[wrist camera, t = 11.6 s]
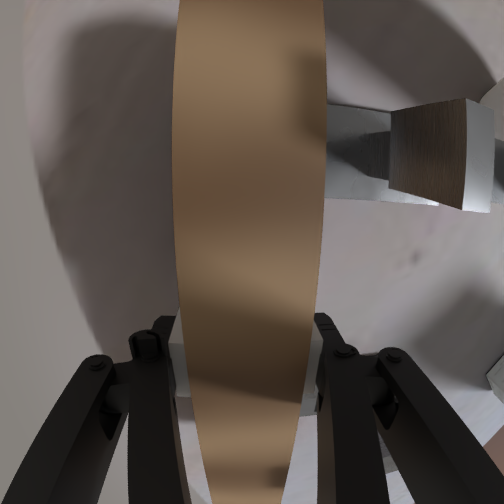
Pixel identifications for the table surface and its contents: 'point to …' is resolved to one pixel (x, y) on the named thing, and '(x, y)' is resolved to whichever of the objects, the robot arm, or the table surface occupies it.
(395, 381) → the robot arm
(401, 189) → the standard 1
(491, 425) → the table surface
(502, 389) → the skincare box
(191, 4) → the rail
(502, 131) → the mug
